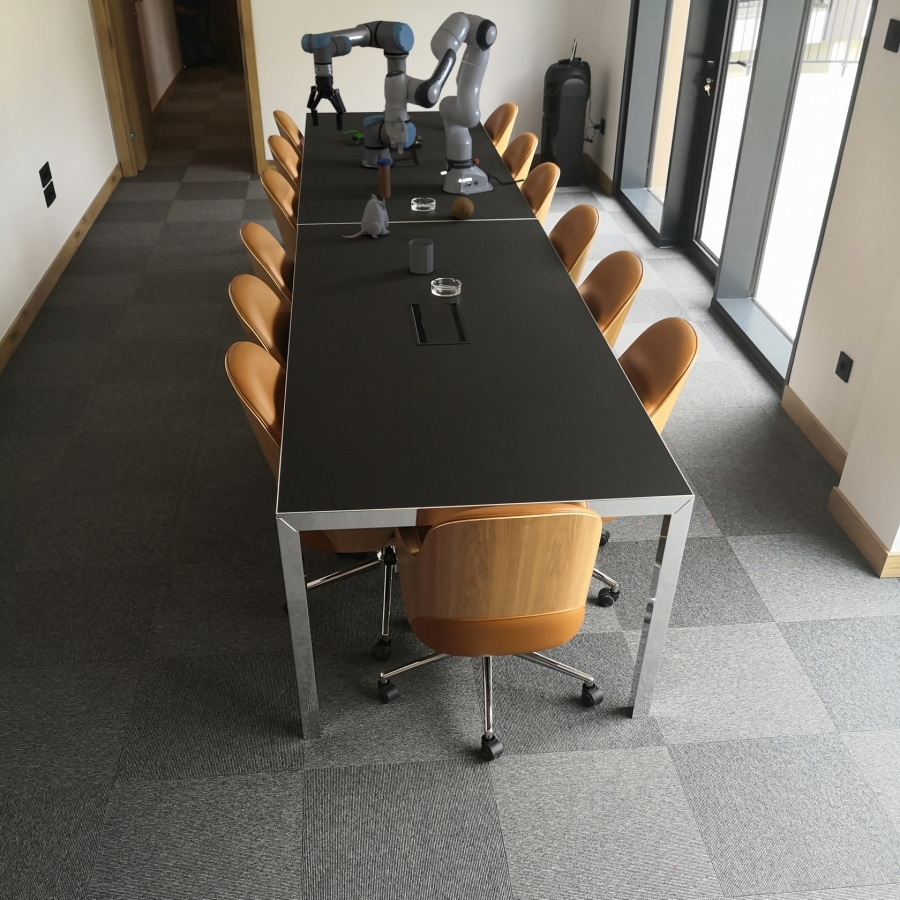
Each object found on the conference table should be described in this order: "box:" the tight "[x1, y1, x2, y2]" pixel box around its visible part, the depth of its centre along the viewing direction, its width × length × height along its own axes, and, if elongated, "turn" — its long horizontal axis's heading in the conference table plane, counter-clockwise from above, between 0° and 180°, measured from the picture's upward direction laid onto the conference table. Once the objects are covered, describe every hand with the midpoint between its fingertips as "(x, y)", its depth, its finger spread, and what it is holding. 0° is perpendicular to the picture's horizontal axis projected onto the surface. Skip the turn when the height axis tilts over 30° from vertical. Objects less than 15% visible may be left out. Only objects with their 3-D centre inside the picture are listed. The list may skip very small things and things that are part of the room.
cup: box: [408, 237, 434, 275], centre depth 305 cm, size 8×8×10 cm
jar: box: [377, 165, 392, 199], centre depth 379 cm, size 5×5×15 cm
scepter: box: [341, 129, 365, 146], centre depth 464 cm, size 6×13×30 cm
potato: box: [450, 196, 475, 220], centre depth 355 cm, size 10×14×8 cm
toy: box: [341, 193, 391, 239], centre depth 332 cm, size 9×24×15 cm, turn 137°
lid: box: [377, 158, 391, 166], centre depth 375 cm, size 6×6×2 cm
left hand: (327, 128), depth 372 cm, fingers open, 13 cm apart
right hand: (397, 150), depth 353 cm, fingers open, 8 cm apart
